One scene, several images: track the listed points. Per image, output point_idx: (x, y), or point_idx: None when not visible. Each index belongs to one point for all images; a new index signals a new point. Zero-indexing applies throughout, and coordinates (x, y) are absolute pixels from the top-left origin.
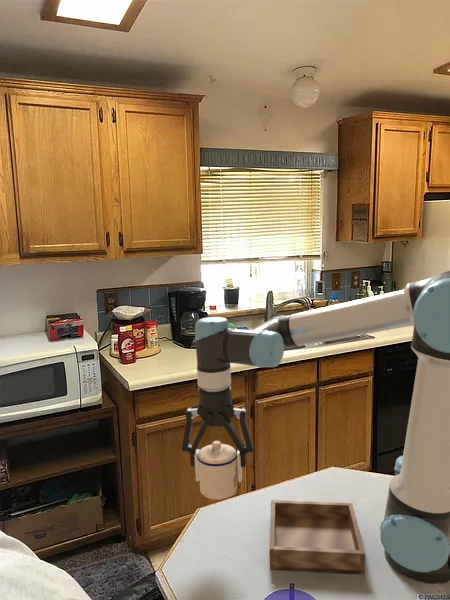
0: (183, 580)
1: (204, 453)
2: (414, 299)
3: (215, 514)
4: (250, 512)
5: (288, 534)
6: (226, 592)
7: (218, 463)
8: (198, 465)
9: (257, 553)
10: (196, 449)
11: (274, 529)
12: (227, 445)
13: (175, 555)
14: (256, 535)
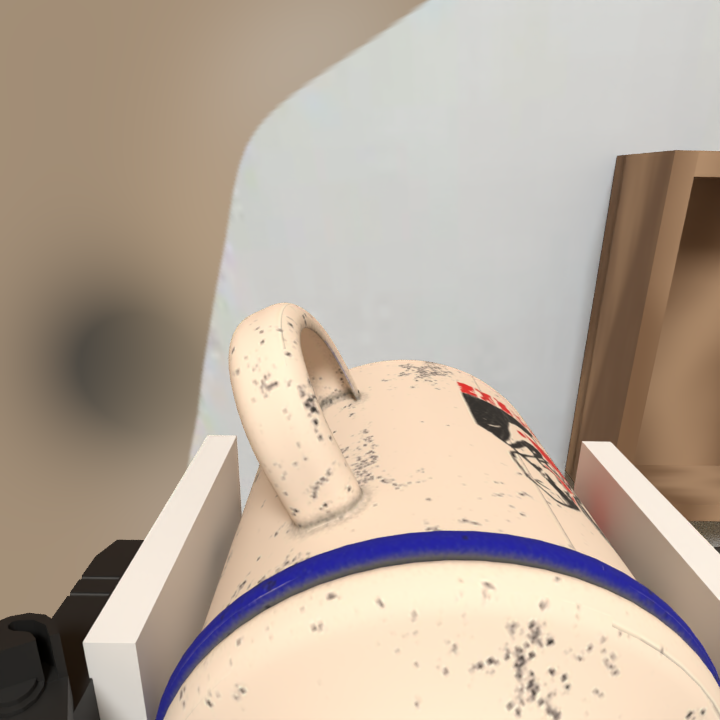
0: None
1: None
2: None
3: (329, 136)
4: (513, 108)
5: (679, 306)
6: None
7: None
8: (202, 622)
9: (527, 395)
10: (83, 641)
11: (644, 405)
12: (630, 691)
13: (209, 423)
14: (531, 290)
